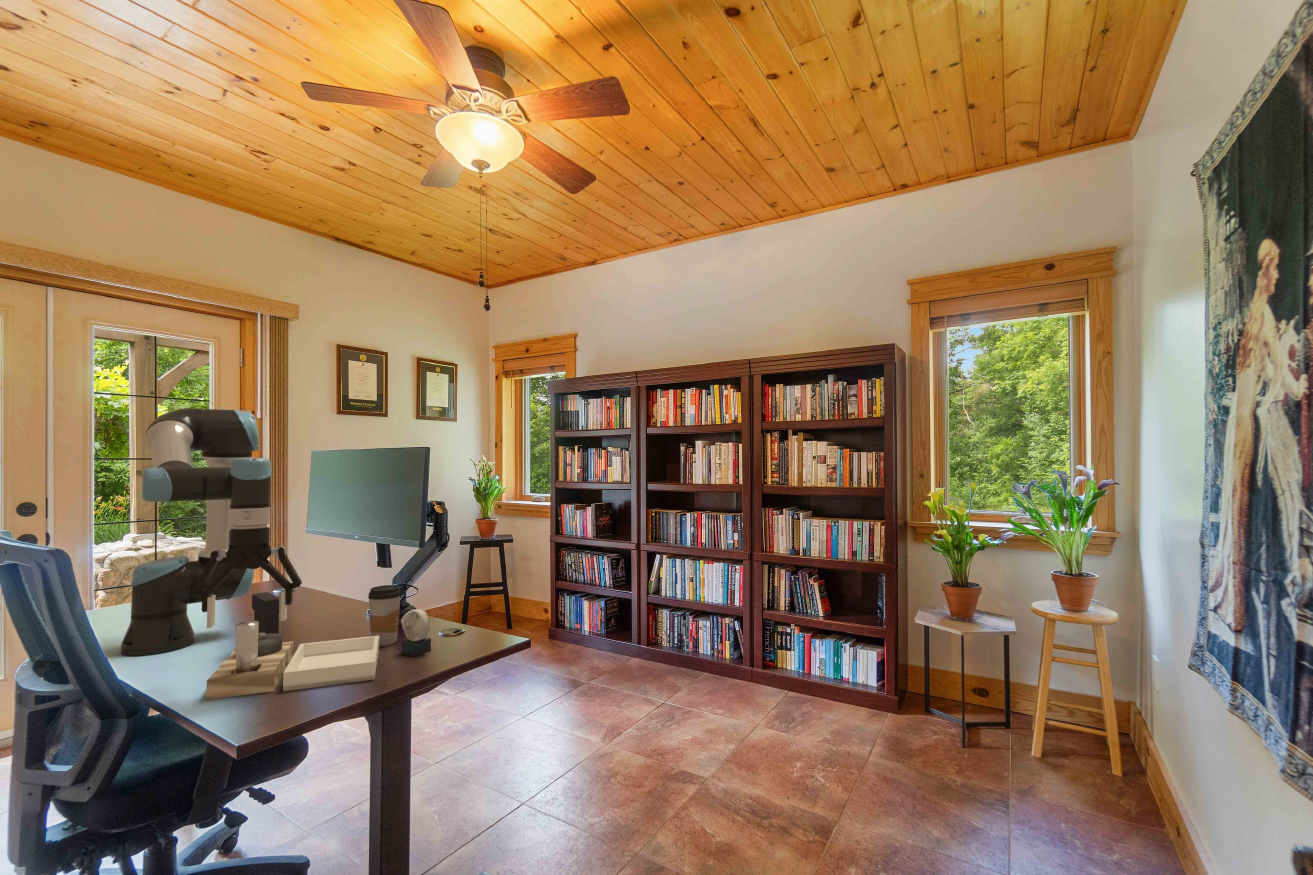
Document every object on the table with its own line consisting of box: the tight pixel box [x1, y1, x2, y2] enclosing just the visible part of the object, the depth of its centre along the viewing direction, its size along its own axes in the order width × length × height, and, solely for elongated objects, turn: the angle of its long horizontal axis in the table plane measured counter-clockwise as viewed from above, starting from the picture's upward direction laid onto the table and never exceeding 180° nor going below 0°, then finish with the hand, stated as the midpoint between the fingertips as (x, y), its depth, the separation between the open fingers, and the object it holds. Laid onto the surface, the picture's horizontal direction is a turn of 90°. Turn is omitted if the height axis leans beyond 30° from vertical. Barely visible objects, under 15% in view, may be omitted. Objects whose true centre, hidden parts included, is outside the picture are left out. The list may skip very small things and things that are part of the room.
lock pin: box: [235, 620, 259, 674], centre depth 132 cm, size 4×4×14 cm
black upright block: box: [251, 591, 282, 634], centre depth 154 cm, size 11×4×15 cm, turn 47°
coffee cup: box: [367, 584, 402, 647], centre depth 163 cm, size 8×8×15 cm
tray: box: [282, 635, 380, 692], centre depth 143 cm, size 22×18×4 cm
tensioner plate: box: [205, 633, 294, 701], centre depth 138 cm, size 24×12×8 cm, turn 23°
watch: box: [400, 608, 432, 658], centre depth 155 cm, size 6×8×11 cm
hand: (247, 623), depth 132 cm, fingers open, 13 cm apart
